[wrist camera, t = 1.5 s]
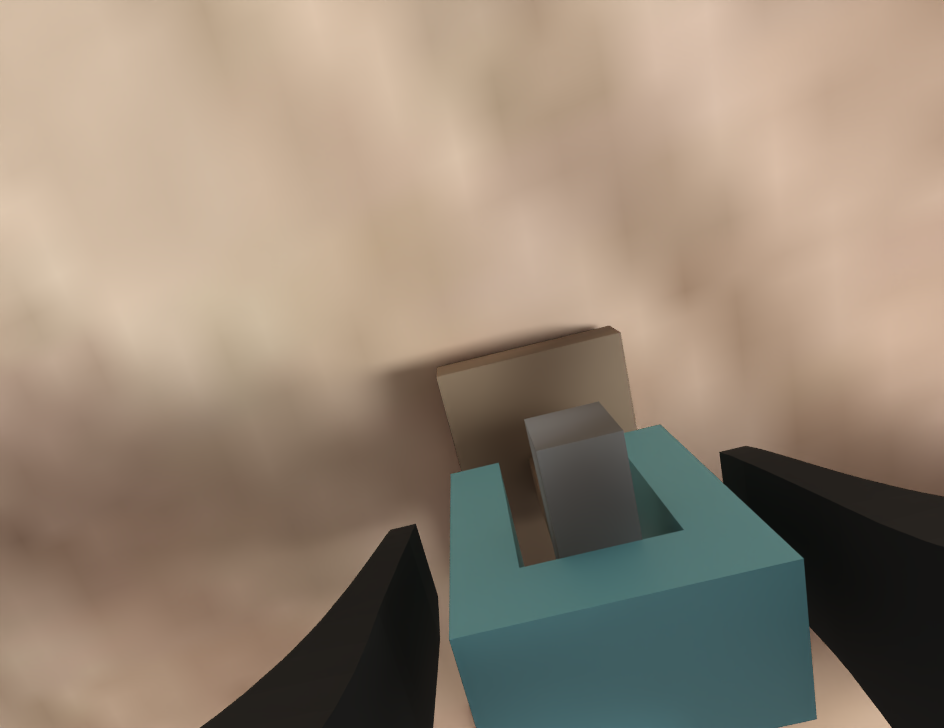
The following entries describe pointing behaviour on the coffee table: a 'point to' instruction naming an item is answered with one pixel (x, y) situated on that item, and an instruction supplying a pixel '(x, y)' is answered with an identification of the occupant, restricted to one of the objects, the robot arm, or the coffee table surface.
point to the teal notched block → (632, 610)
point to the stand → (551, 439)
